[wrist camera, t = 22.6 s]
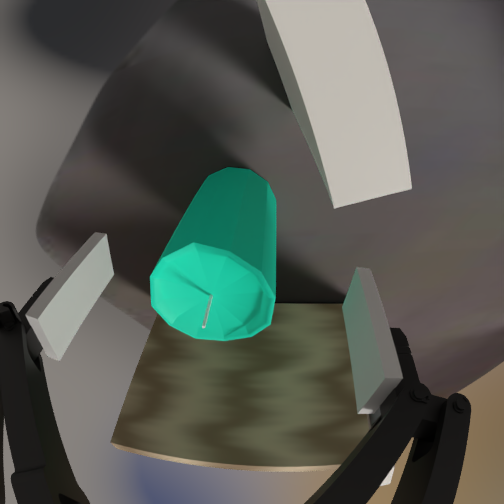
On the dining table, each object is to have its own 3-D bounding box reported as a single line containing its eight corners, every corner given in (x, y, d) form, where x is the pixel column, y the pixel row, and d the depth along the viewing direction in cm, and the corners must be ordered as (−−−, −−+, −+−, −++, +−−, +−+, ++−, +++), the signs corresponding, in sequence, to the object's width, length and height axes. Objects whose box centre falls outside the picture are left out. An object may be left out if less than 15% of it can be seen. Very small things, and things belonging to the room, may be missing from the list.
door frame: (291, 35, 16) (335, -64, 3) (367, 353, 31) (389, 483, 18) (267, 41, 16) (243, -46, 3) (353, 356, 31) (371, 487, 18)
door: (345, 303, 27) (372, 460, 14) (340, 324, 28) (360, 472, 16) (164, 298, 28) (110, 442, 16) (169, 319, 29) (125, 456, 17)
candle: (289, 184, 21) (300, 300, 11) (258, 250, 25) (246, 379, 15) (209, 154, 21) (145, 247, 10) (187, 224, 24) (131, 343, 14)
